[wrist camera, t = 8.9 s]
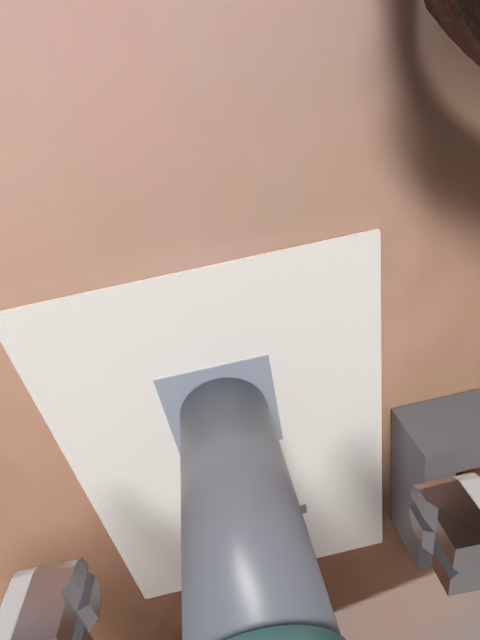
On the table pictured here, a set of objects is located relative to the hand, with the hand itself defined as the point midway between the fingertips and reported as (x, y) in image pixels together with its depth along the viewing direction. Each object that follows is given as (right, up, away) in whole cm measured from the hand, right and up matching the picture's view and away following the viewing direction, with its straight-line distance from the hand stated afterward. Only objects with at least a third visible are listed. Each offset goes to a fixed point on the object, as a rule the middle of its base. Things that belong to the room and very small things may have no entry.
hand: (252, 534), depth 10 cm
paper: (0, 0, +6) cm, 6 cm away
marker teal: (-1, +2, +5) cm, 5 cm away
